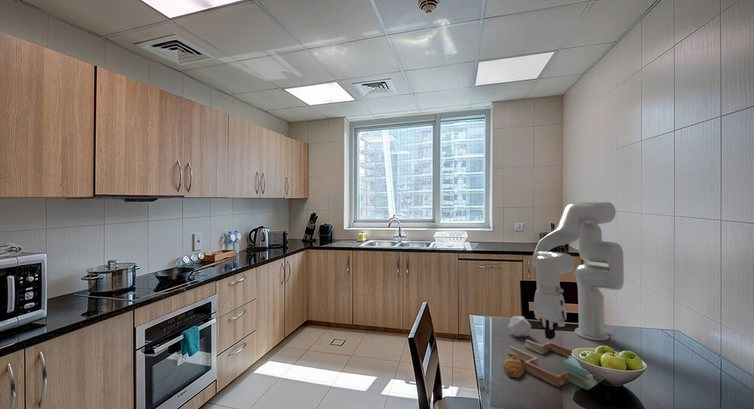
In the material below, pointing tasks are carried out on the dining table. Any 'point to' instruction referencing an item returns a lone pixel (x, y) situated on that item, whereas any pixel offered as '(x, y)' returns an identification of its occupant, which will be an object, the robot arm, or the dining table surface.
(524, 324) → the die
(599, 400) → the dining table surface
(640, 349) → the dining table surface
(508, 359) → the pastry
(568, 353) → the wooden zigzag track
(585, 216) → the robot arm
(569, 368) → the teal block
